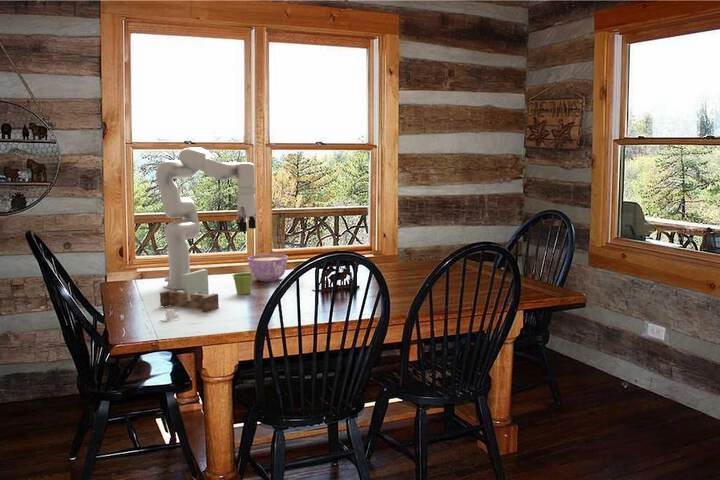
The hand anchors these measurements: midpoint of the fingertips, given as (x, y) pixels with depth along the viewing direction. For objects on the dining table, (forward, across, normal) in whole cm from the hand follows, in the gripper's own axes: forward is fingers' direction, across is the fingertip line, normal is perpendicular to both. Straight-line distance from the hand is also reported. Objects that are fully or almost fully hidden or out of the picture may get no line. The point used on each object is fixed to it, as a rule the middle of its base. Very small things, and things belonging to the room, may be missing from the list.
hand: (247, 229), depth 305 cm
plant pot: (+30, -3, -5) cm, 30 cm away
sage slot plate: (+30, +10, -21) cm, 38 cm away
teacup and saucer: (+30, +43, -12) cm, 54 cm away
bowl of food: (+30, -34, -5) cm, 46 cm away
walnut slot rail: (+30, +26, -16) cm, 42 cm away
